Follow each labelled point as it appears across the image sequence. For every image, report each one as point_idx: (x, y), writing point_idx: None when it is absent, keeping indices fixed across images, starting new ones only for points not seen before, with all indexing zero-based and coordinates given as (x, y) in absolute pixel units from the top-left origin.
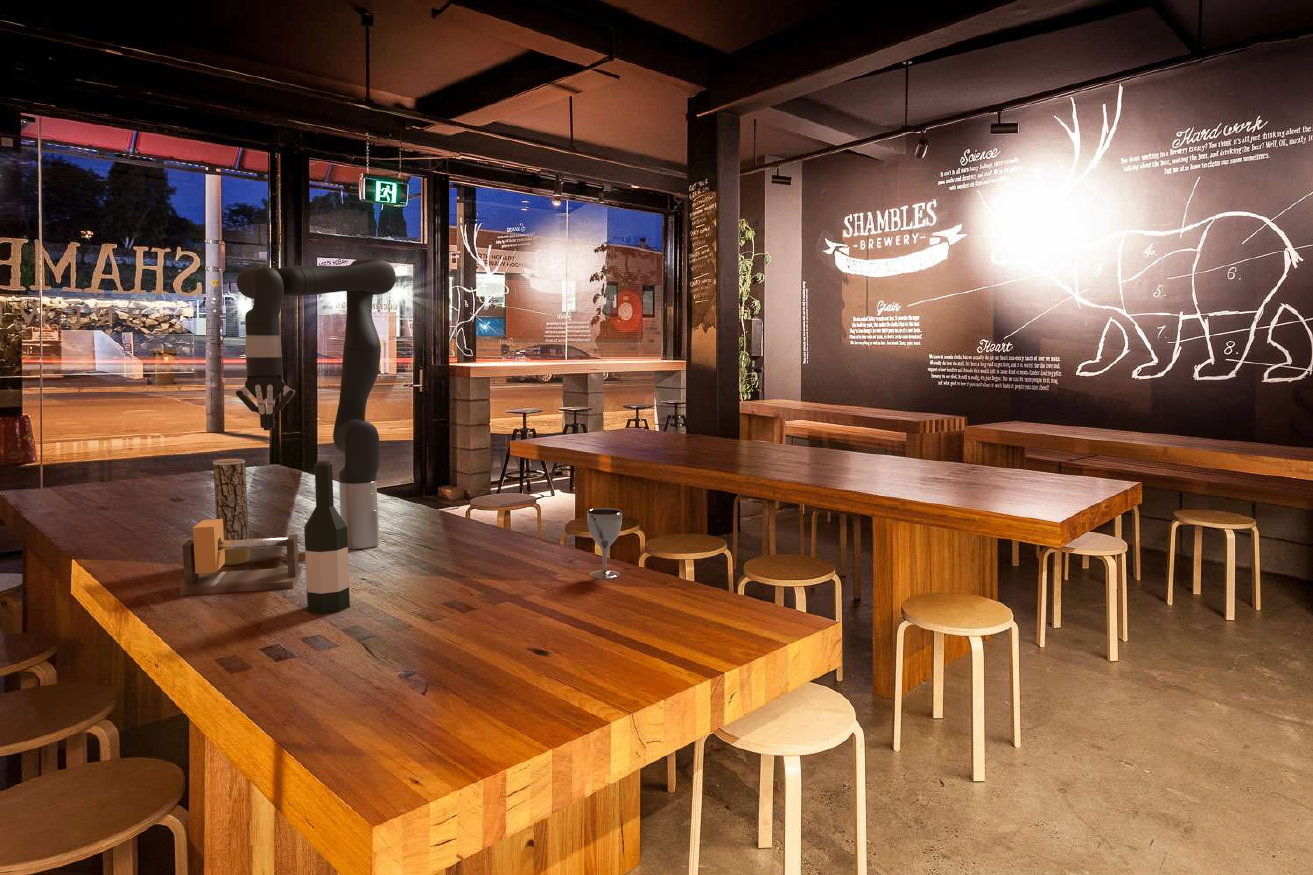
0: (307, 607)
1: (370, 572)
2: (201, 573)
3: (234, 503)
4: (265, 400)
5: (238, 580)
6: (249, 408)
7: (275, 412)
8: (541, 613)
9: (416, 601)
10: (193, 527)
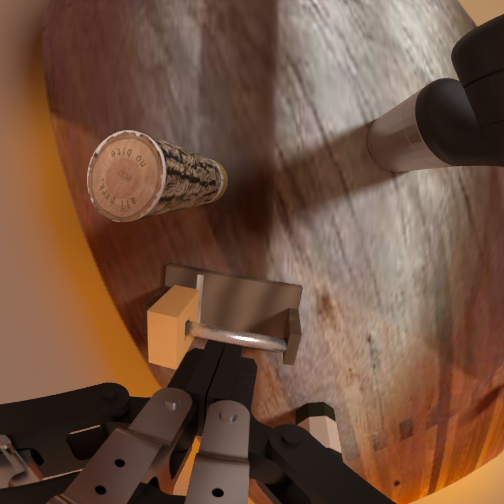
0: (296, 411)
1: (383, 313)
2: (173, 269)
3: (179, 209)
4: (156, 459)
5: (223, 324)
6: (99, 436)
7: (258, 424)
8: (436, 444)
9: (386, 416)
10: (149, 361)
